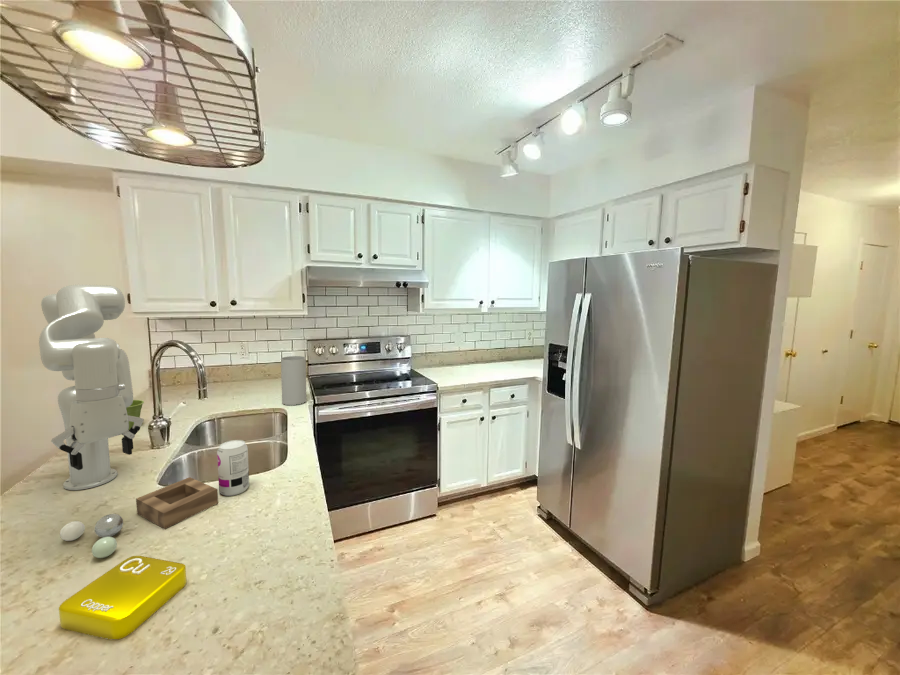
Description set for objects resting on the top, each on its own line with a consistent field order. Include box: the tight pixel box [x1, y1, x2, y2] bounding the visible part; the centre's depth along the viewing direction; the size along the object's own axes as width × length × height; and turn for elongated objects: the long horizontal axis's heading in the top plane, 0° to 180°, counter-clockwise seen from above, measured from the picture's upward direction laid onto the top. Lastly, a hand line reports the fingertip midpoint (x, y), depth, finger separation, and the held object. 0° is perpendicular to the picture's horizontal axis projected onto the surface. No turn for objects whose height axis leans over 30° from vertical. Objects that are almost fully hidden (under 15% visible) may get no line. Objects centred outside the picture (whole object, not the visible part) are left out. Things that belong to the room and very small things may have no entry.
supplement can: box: [216, 439, 250, 497], centre depth 118 cm, size 8×8×15 cm
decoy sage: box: [91, 536, 118, 559], centre depth 89 cm, size 4×4×4 cm
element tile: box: [58, 555, 187, 640], centre depth 76 cm, size 15×15×5 cm
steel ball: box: [94, 513, 124, 538], centre depth 96 cm, size 5×5×5 cm
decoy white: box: [59, 520, 86, 542], centre depth 94 cm, size 4×4×4 cm
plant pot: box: [126, 399, 145, 431], centre depth 166 cm, size 12×12×11 cm
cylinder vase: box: [280, 355, 307, 406], centre depth 208 cm, size 12×12×25 cm
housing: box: [135, 476, 219, 530], centre depth 108 cm, size 14×14×4 cm
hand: (103, 460), depth 94 cm, fingers open, 9 cm apart
